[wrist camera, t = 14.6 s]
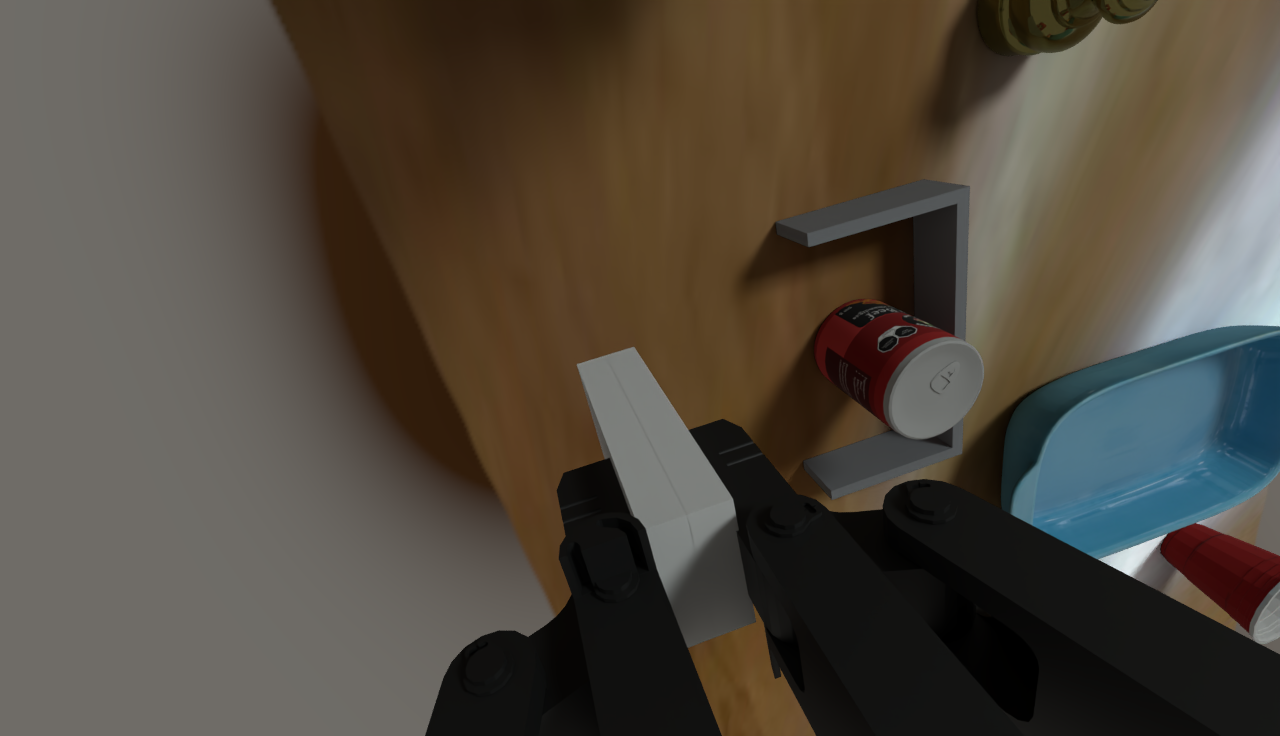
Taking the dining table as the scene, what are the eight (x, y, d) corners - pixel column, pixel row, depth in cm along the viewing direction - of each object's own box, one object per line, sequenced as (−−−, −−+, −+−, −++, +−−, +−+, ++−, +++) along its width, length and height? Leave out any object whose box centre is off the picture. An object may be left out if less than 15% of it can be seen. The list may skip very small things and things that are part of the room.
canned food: (905, 308, 52) (1004, 353, 42) (865, 388, 54) (950, 449, 45) (835, 285, 49) (923, 327, 40) (796, 370, 52) (870, 430, 42)
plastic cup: (1207, 555, 79) (1320, 624, 68) (1139, 583, 78) (1243, 658, 67) (1223, 492, 74) (1347, 555, 64) (1151, 521, 73) (1265, 591, 62)
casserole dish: (960, 554, 67) (1010, 601, 61) (965, 385, 58) (1026, 419, 51) (1225, 454, 72) (1298, 487, 66) (1272, 282, 62) (1362, 301, 56)
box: (775, 221, 46) (807, 233, 41) (923, 179, 48) (969, 186, 43) (804, 469, 56) (832, 499, 52) (925, 427, 58) (962, 453, 53)
